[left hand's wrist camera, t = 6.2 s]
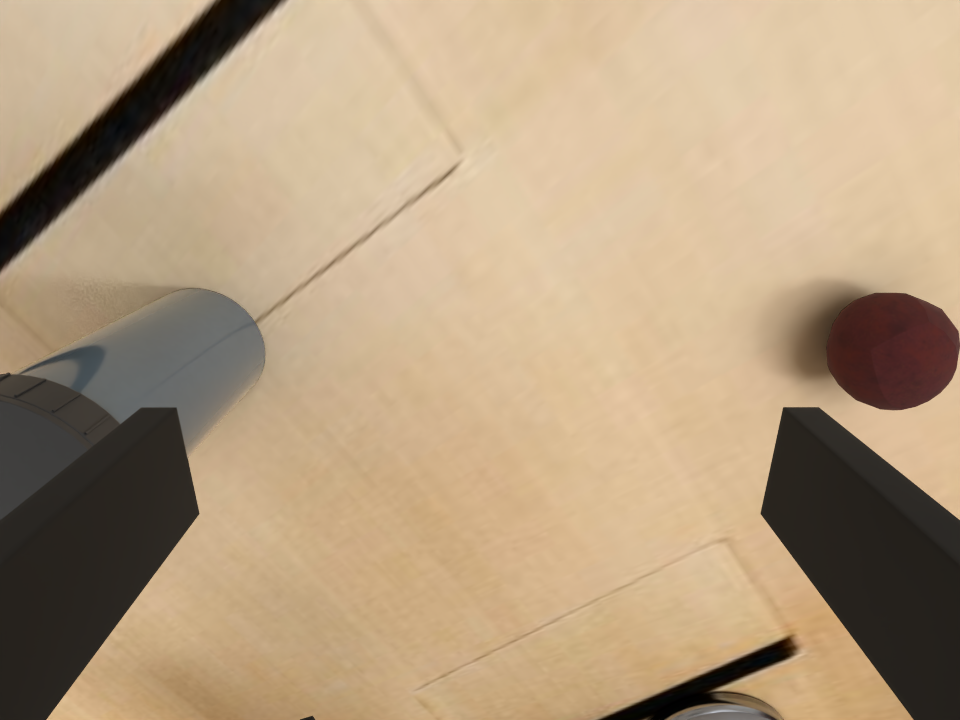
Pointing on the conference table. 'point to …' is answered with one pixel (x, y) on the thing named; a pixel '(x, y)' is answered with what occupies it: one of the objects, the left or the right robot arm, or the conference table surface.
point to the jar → (166, 361)
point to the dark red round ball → (892, 350)
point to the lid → (42, 433)
